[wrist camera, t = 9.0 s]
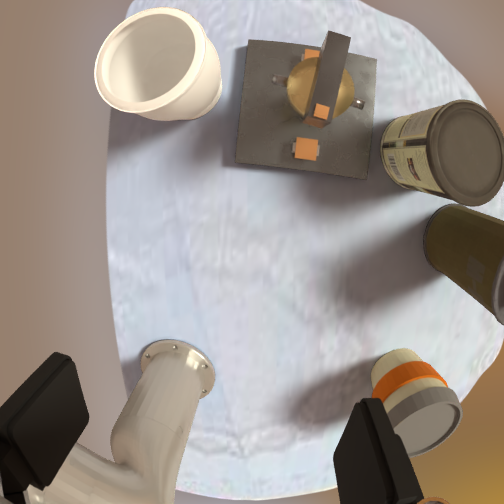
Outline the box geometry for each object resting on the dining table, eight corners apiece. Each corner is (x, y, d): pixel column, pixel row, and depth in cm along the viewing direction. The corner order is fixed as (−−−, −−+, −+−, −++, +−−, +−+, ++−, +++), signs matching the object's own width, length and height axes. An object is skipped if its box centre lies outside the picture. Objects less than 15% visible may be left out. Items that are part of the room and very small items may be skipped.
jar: (174, 143, 37) (121, 136, 23) (139, 83, 35) (79, 54, 21) (245, 100, 35) (229, 65, 21) (206, 40, 33) (173, -13, 19)
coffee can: (455, 149, 35) (519, 152, 21) (419, 205, 38) (477, 228, 24) (405, 99, 34) (460, 77, 20) (364, 155, 36) (410, 155, 23)
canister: (415, 218, 38) (506, 267, 19) (469, 193, 36) (567, 223, 17) (431, 285, 41) (505, 358, 22) (481, 258, 39) (564, 312, 20)
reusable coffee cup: (426, 328, 43) (469, 385, 28) (427, 382, 46) (458, 438, 32) (355, 354, 45) (379, 422, 30) (364, 405, 48) (383, 469, 34)
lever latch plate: (361, 178, 37) (386, 185, 29) (236, 162, 38) (226, 163, 29) (372, 63, 32) (396, 41, 24) (249, 44, 33) (243, 16, 24)
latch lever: (368, 73, 25) (393, 52, 18) (352, 141, 27) (375, 137, 21) (282, 47, 25) (284, 18, 18) (263, 116, 27) (260, 103, 21)
